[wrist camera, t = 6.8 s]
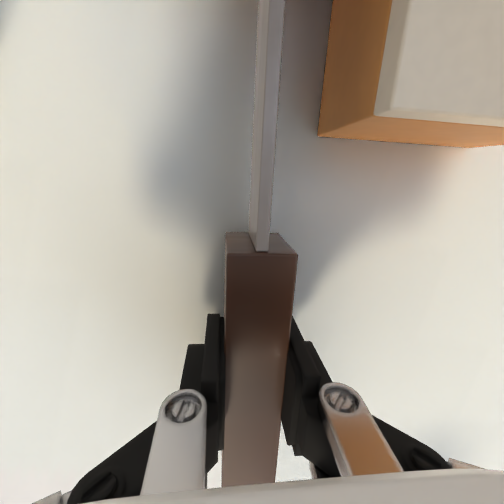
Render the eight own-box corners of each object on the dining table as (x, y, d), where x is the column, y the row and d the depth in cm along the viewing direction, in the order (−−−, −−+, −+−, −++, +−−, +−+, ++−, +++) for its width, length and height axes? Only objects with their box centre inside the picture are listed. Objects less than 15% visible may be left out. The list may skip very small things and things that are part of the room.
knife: (301, -48, 8) (341, -162, 5) (264, 419, 14) (274, 484, 11) (230, -59, 8) (235, -184, 5) (221, 422, 14) (221, 489, 11)
